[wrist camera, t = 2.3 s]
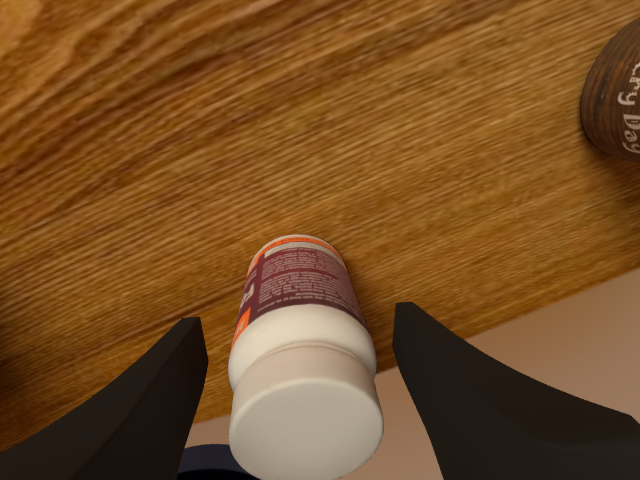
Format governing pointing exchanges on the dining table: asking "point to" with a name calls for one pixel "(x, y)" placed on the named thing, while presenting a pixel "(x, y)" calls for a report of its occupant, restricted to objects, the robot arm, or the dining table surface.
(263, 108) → the dining table surface
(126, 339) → the dining table surface
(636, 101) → the utensil holder
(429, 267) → the dining table surface
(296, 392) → the pill bottle
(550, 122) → the dining table surface
